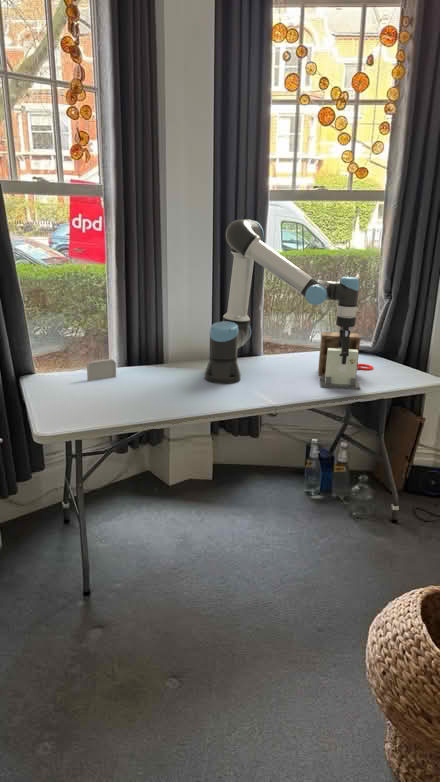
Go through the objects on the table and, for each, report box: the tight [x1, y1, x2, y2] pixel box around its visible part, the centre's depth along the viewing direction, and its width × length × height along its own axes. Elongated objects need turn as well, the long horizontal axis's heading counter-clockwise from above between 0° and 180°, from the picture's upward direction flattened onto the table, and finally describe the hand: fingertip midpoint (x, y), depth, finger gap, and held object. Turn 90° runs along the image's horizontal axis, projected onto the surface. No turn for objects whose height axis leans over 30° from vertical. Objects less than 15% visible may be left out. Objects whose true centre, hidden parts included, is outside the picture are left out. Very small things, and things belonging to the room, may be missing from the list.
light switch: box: [86, 358, 117, 382], centre depth 235 cm, size 2×12×8 cm, turn 125°
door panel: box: [324, 348, 359, 385], centre depth 235 cm, size 12×5×14 cm, turn 83°
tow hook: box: [357, 345, 374, 371], centre depth 263 cm, size 8×13×9 cm
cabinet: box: [317, 331, 361, 377], centre depth 250 cm, size 16×8×18 cm, turn 83°
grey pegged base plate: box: [319, 372, 362, 391], centre depth 237 cm, size 16×10×4 cm, turn 83°
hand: (341, 367), depth 236 cm, fingers open, 13 cm apart
